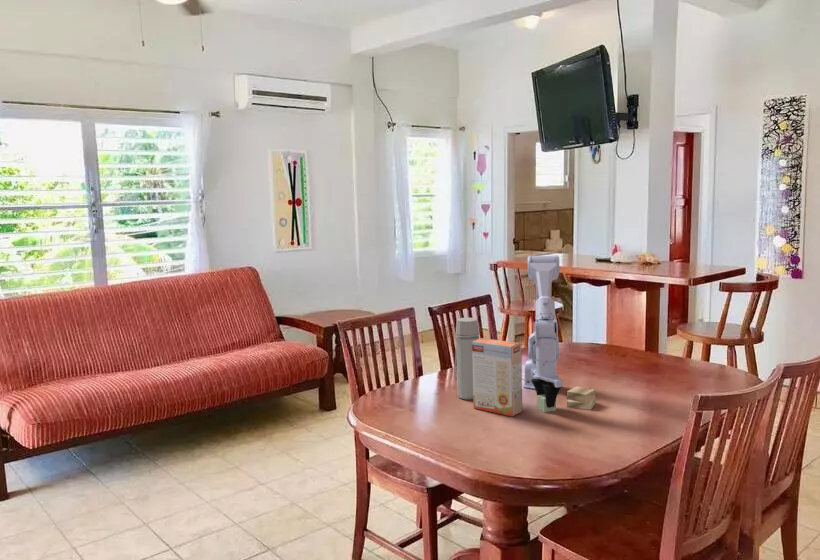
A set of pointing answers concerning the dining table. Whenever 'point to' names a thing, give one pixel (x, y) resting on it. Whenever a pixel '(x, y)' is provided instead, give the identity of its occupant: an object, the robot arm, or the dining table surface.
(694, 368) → the dining table surface
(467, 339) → the water bottle
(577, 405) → the beech slab bottom
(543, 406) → the sage cube
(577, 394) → the beech slab top
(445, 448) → the dining table surface
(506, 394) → the cracker box
